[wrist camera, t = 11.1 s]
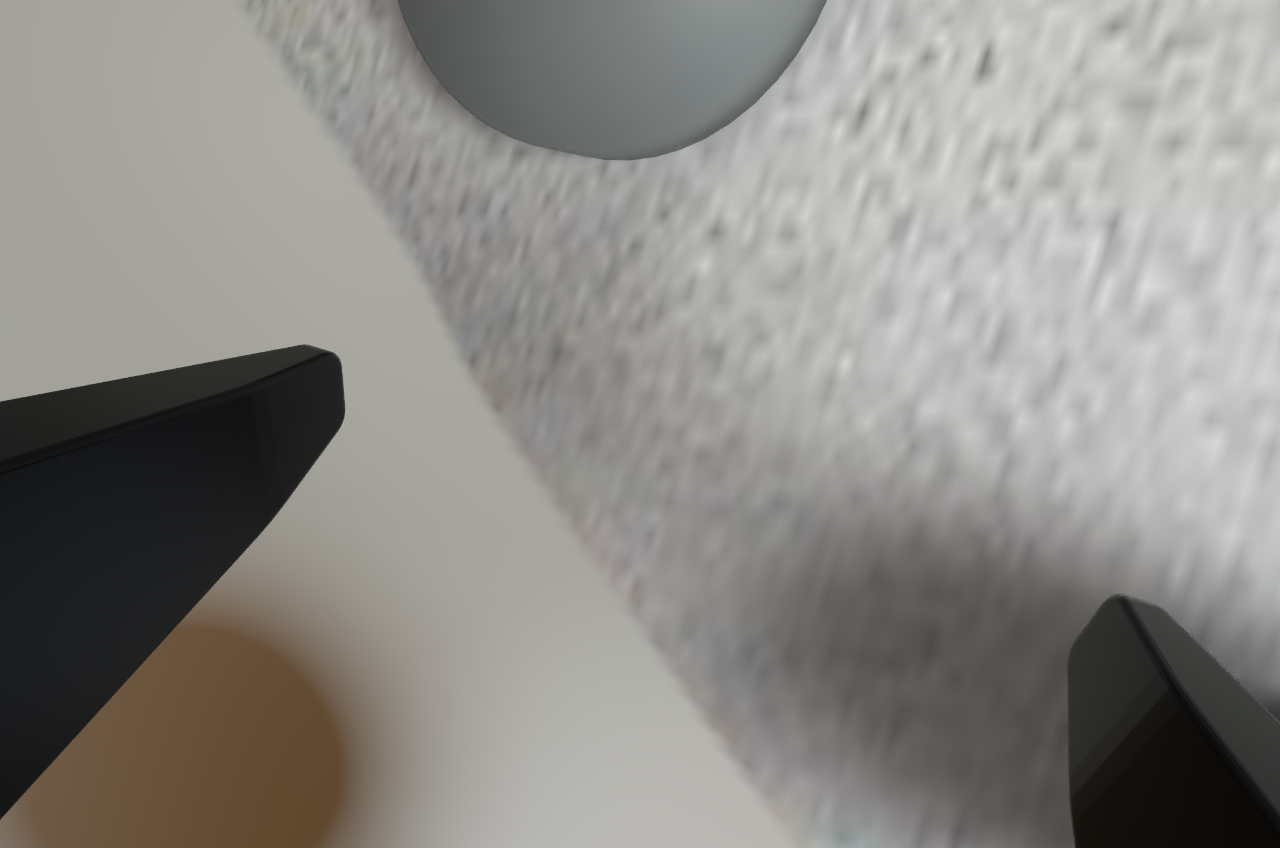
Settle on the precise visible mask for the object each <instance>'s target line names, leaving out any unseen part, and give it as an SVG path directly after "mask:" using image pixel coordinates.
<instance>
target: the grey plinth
mask: <svg viewBox="0 0 1280 848" xmlns="http://www.w3.org/2000/svg"><path fill="white" fill-rule="evenodd" d="M826 1H827V0H398V3H399V6H400V9H401V12H402V15H403V18H404V20H405V23H406V25H407V27H408V29H409V31H410V33H411V36H412V38H413V40H414V42H415V44H416V46H417V48H418V50H419V51H420V53H421V55H422V56H423V58H424V60H425V61H426V63H427V65H428V66H429V68H430V70H431V71H432V72H433V74H434V75H435V76H436V77H437V79H438V80H439V81H440V82H441V84H442V85H443V86H444V88H445V89H446V90H447V91H448V92H449V93H450V94H451V95H452V96H453V97H454V98H455V99H456V100H457V101H458V102H459V103H460V104H461V105H462V106H463V107H464V108H465V109H466V110H467V111H469V112H470V113H471V114H473V115H474V116H476V117H477V118H478V119H480V120H481V121H482V122H484V123H485V124H486V125H488V126H490V127H492V128H494V129H496V130H497V131H499V132H501V133H503V134H505V135H507V136H509V137H511V138H514V139H517V140H520V141H523V142H526V143H529V144H532V145H535V146H539V147H544V148H549V149H554V150H558V151H563V152H568V153H572V154H577V155H582V156H587V157H593V158H599V159H605V160H635V159H642V158H650V157H656V156H660V155H663V154H667V153H670V152H674V151H677V150H680V149H683V148H685V147H687V146H689V145H692V144H694V143H696V142H698V141H701V140H703V139H705V138H707V137H709V136H710V135H712V134H713V133H715V132H717V131H718V130H720V129H722V128H723V127H725V126H726V125H728V124H730V123H731V122H732V121H734V120H735V119H736V118H737V117H739V116H740V115H741V114H742V113H743V112H745V111H746V110H747V109H748V108H750V107H751V106H752V105H753V104H755V103H756V101H757V100H758V99H759V98H760V97H761V96H762V95H763V94H764V93H765V92H766V91H767V90H768V89H769V88H770V87H771V86H772V85H773V84H774V83H775V82H776V81H777V80H778V78H779V77H780V76H781V75H782V73H783V72H784V71H785V69H786V68H787V67H788V65H789V64H790V63H791V62H792V60H793V59H794V58H795V56H796V55H797V54H798V52H799V50H800V49H801V47H802V46H803V44H804V42H805V41H806V39H807V37H808V36H809V34H810V32H811V31H812V29H813V27H814V26H815V24H816V22H817V20H818V18H819V16H820V13H821V11H822V9H823V7H824V5H825V3H826Z"/></svg>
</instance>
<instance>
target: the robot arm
mask: <svg viewBox="0 0 1280 848" xmlns="http://www.w3.org/2000/svg"><path fill="white" fill-rule="evenodd" d="M344 415H345V400H344V388H343V375H342V365H341V361H340V359H339V357H338V356H337V355H336V354H335V353H333V352H330V351H327V350H323V349H320V348H317V347H314V346H310V345H298V346H293V347H288V348H282V349H277V350H271V351H266V352H261V353H256V354H250V355H245V356H240V357H235V358H229V359H224V360H219V361H214V362H208V363H203V364H197V365H192V366H187V367H181V368H176V369H171V370H165V371H160V372H156V373H150V374H144V375H139V376H134V377H128V378H123V379H118V380H113V381H107V382H102V383H97V384H91V385H86V386H81V387H76V388H70V389H65V390H60V391H54V392H49V393H44V394H38V395H33V396H28V397H22V398H18V399H12V400H6V401H2V402H0V820H1V818H2V817H3V816H4V815H5V814H6V813H7V812H8V811H9V810H10V808H11V807H12V806H13V805H14V804H15V803H16V802H17V801H18V800H19V799H20V798H21V796H22V795H23V794H24V793H25V792H26V791H27V790H28V789H29V788H30V787H31V785H32V784H33V783H34V782H35V781H36V780H37V779H38V778H39V776H41V774H42V773H43V772H44V771H45V770H46V769H47V768H48V767H49V766H50V765H51V763H52V762H53V761H54V760H55V759H56V758H57V757H58V756H59V755H60V754H61V752H62V751H63V750H64V749H65V748H66V747H67V746H68V745H69V744H70V743H71V742H72V740H73V739H74V738H75V737H76V736H77V735H78V734H79V733H80V732H81V731H82V729H83V728H84V727H85V726H86V725H87V724H88V723H89V722H90V721H91V720H92V718H93V717H94V716H95V715H96V714H97V713H98V711H100V709H102V707H103V706H104V705H105V704H106V703H107V702H108V701H109V700H110V699H111V698H112V696H113V695H114V694H115V693H116V692H117V691H118V690H119V689H120V687H121V686H122V685H123V684H124V683H125V682H126V681H127V680H128V679H129V678H130V676H132V674H133V673H134V672H135V671H136V670H137V669H138V668H139V667H140V665H142V663H143V662H144V661H145V660H146V659H147V658H148V657H149V656H150V655H151V654H152V652H153V651H154V650H155V649H156V648H157V647H158V646H159V645H160V644H161V642H162V641H163V640H164V639H165V638H166V637H167V636H168V635H169V634H170V633H171V632H172V630H173V629H174V628H175V627H176V626H177V625H178V624H179V623H180V622H181V620H182V619H183V618H184V617H185V616H186V615H187V614H188V613H189V612H190V611H191V610H192V608H193V607H194V606H195V605H196V604H197V603H198V602H199V601H200V600H201V599H202V597H203V596H204V595H205V594H206V593H207V592H208V591H209V590H210V589H211V588H212V587H213V585H214V584H215V583H216V582H217V581H218V580H219V579H220V578H221V576H223V574H224V573H225V572H226V571H227V570H228V569H229V568H230V567H231V566H232V564H233V563H234V562H235V561H236V560H237V559H238V558H239V557H240V556H241V555H242V554H243V552H244V551H245V550H246V549H247V548H248V547H249V545H251V544H252V542H253V541H254V540H255V539H256V538H257V537H258V536H259V535H260V534H261V532H262V531H263V530H264V529H265V528H266V526H268V524H269V523H270V522H271V521H272V519H273V518H274V517H275V516H276V514H277V513H278V512H279V511H280V509H281V508H282V507H283V506H284V504H285V503H286V502H287V500H288V499H289V497H290V496H291V495H292V493H293V492H294V491H295V489H296V488H297V486H298V485H299V484H300V482H301V481H302V480H303V478H304V477H305V475H306V474H307V473H308V471H309V470H310V469H311V467H312V466H313V465H314V463H315V462H316V460H317V459H318V458H319V456H320V455H321V454H322V452H323V451H324V450H325V448H326V447H327V445H328V444H329V443H330V441H331V440H332V439H333V437H334V436H335V434H336V433H337V432H338V430H339V429H340V427H341V425H342V423H343V420H344ZM1068 767H1069V798H1070V809H1071V818H1072V827H1073V835H1074V843H1075V848H1280V722H1279V721H1278V720H1277V719H1276V718H1275V717H1274V716H1273V715H1272V714H1271V713H1270V712H1269V711H1268V710H1267V709H1266V708H1265V707H1264V706H1263V705H1262V704H1261V703H1260V702H1259V701H1258V700H1257V699H1256V698H1255V697H1253V696H1252V695H1251V694H1250V693H1249V692H1248V691H1247V690H1246V689H1245V688H1244V687H1243V686H1242V685H1241V684H1240V683H1239V682H1238V681H1237V680H1236V679H1235V678H1234V677H1233V676H1232V675H1231V674H1230V673H1229V672H1228V671H1227V670H1226V669H1225V668H1224V667H1222V666H1221V665H1220V664H1219V663H1218V662H1217V661H1216V660H1215V659H1214V658H1213V657H1212V656H1211V655H1210V654H1209V653H1208V652H1207V651H1206V650H1205V649H1204V648H1203V647H1202V646H1201V645H1200V644H1199V643H1198V642H1197V641H1196V640H1195V639H1194V638H1193V637H1192V636H1190V635H1189V634H1188V633H1187V632H1186V631H1185V630H1184V629H1183V628H1182V627H1181V626H1180V625H1179V624H1178V623H1177V622H1176V621H1175V620H1174V619H1173V618H1172V617H1171V616H1170V615H1169V614H1168V613H1167V612H1166V611H1165V610H1164V609H1162V608H1161V607H1160V606H1158V605H1156V604H1153V603H1150V602H1147V601H1143V600H1140V599H1137V598H1134V597H1130V596H1127V595H1124V594H1115V595H1112V596H1110V597H1109V598H1107V599H1106V601H1105V602H1104V603H1103V604H1102V605H1101V607H1100V608H1099V609H1098V611H1097V612H1096V613H1095V615H1094V616H1093V618H1092V619H1091V620H1090V622H1089V623H1088V624H1087V626H1086V627H1085V628H1084V630H1083V631H1082V633H1081V634H1080V635H1079V637H1078V638H1077V639H1076V641H1075V642H1074V644H1073V646H1072V648H1071V651H1070V654H1069V658H1068Z"/></svg>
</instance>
